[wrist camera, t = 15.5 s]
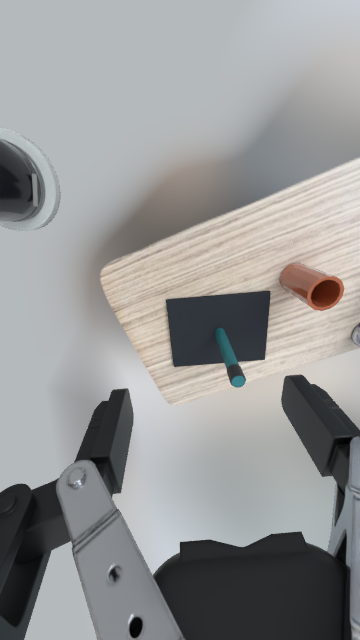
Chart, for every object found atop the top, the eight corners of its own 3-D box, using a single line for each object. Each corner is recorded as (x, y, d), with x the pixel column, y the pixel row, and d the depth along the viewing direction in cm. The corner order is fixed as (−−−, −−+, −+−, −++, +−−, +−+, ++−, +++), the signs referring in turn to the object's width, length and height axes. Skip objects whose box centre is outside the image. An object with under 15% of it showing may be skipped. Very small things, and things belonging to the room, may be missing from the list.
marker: (214, 337, 43) (230, 388, 30) (214, 327, 42) (230, 376, 29) (225, 336, 43) (245, 387, 30) (225, 326, 42) (246, 375, 29)
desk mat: (173, 365, 46) (173, 366, 45) (166, 299, 40) (166, 300, 40) (263, 357, 46) (264, 359, 45) (269, 290, 40) (270, 291, 39)
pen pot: (278, 292, 40) (304, 312, 32) (281, 264, 38) (310, 277, 30) (306, 289, 40) (339, 309, 32) (310, 261, 38) (347, 274, 30)
